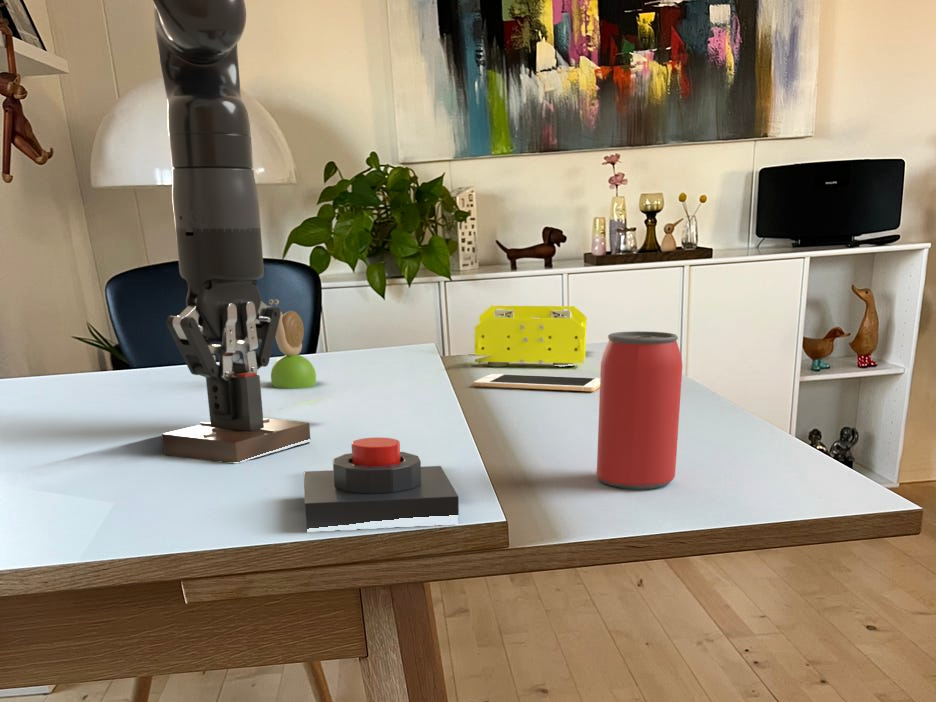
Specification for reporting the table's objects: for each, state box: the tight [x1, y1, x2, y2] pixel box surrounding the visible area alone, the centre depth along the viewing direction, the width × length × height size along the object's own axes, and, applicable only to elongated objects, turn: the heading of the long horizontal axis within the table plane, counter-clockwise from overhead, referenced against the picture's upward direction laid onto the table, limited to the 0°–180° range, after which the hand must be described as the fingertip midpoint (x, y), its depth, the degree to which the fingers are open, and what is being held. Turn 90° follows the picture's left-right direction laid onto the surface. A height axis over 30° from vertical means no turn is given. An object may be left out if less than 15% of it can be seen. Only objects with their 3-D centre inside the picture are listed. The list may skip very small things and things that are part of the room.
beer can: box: [596, 330, 683, 490], centre depth 86 cm, size 7×7×12 cm
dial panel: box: [161, 417, 311, 463], centre depth 101 cm, size 11×9×2 cm
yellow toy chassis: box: [474, 305, 588, 367], centre depth 154 cm, size 16×6×8 cm, turn 82°
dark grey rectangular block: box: [205, 372, 264, 431], centre depth 100 cm, size 5×2×5 cm, turn 61°
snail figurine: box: [268, 298, 317, 390], centre depth 125 cm, size 5×6×12 cm
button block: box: [303, 451, 460, 530], centre depth 79 cm, size 11×10×4 cm
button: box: [351, 436, 401, 466], centre depth 78 cm, size 4×4×2 cm
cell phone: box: [473, 373, 600, 392], centre depth 137 cm, size 8×16×1 cm, turn 72°
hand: (235, 416), depth 101 cm, fingers closed on dark grey rectangular block, 2 cm apart
